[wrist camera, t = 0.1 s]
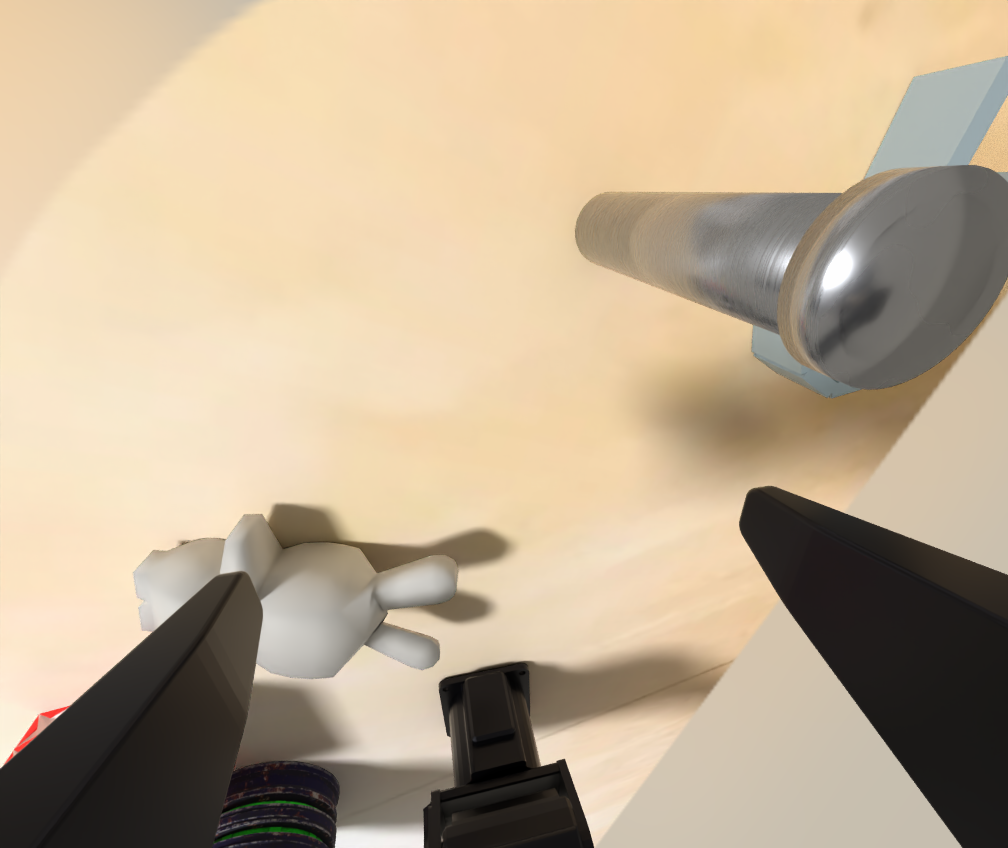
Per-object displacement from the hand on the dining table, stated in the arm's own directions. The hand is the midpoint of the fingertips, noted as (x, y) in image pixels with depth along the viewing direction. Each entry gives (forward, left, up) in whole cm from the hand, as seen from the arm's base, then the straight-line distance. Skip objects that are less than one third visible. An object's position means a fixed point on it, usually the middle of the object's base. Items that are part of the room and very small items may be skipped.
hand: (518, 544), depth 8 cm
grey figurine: (-13, +9, -15) cm, 22 cm away
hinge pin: (+4, -7, -15) cm, 17 cm away
